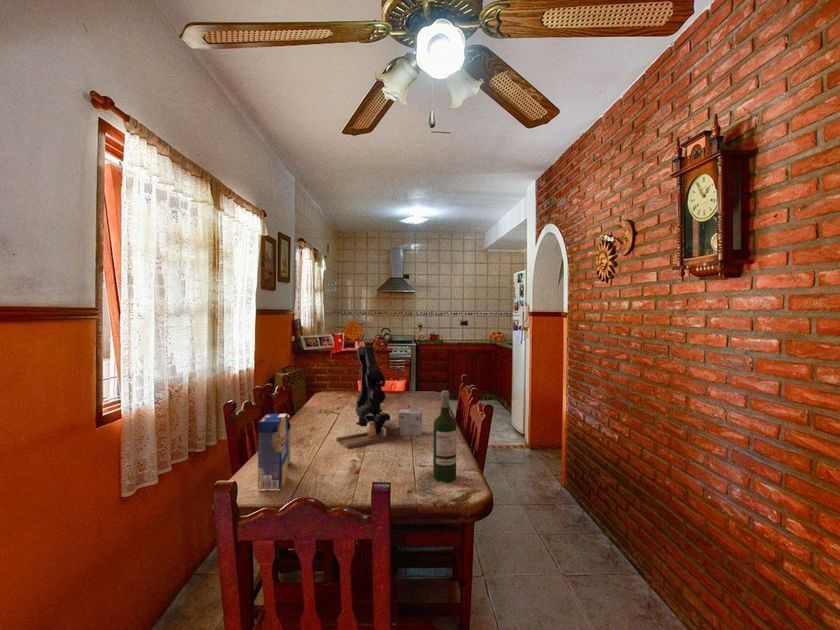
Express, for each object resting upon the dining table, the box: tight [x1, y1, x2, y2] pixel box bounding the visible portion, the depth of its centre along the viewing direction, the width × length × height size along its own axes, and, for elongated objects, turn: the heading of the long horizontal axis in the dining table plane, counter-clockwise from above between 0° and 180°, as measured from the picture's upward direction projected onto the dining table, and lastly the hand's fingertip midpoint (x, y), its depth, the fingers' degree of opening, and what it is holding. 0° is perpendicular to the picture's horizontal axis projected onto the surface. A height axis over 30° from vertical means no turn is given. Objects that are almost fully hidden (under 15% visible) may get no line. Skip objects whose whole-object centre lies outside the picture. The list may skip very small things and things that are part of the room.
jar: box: [366, 421, 381, 437], centre depth 190 cm, size 6×6×6 cm
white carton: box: [397, 408, 423, 437], centre depth 199 cm, size 11×7×11 cm, turn 84°
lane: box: [335, 422, 401, 449], centre depth 188 cm, size 11×26×5 cm, turn 125°
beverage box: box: [257, 413, 289, 490], centre depth 139 cm, size 7×11×22 cm, turn 6°
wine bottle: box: [432, 390, 457, 483], centre depth 145 cm, size 8×8×30 cm
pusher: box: [380, 427, 386, 437], centre depth 192 cm, size 7×1×4 cm, turn 35°
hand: (374, 432), depth 190 cm, fingers closed on jar, 6 cm apart
